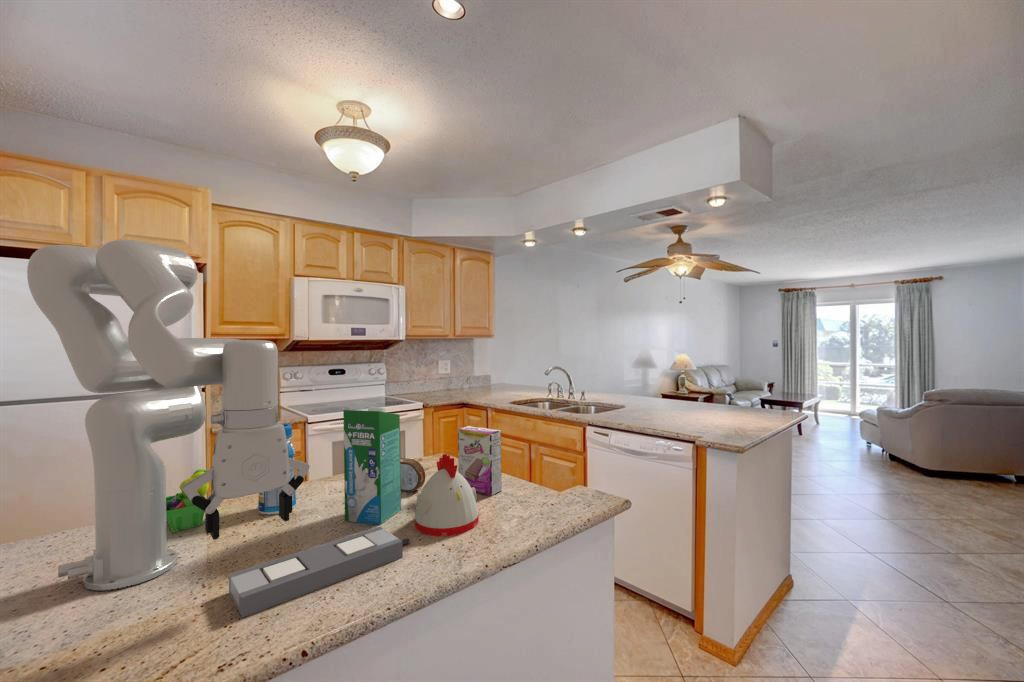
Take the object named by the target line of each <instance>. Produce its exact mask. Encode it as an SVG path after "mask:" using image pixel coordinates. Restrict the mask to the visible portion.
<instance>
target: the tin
mask: <svg viewBox="0 0 1024 682" xmlns="http://www.w3.org/2000/svg"><path fill="white" fill-rule="evenodd" d="M400 478H401V492H408V493H413V492H415V491H417V490H418V489H421V488H422V487H424V485H425V482H426V470H425V469H424V467H423V465H422V464H421V463H420V462H419V461H418V460H416V459H412V458H405V457H400Z"/></svg>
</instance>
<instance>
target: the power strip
mask: <svg viewBox="0 0 1024 682" xmlns="http://www.w3.org/2000/svg"><path fill="white" fill-rule="evenodd" d="M362 536H363V537H365V538H366V539H367V540H369V541H370V542H371V543H373V544H374V545H375V547H373V548H370V549H367V550H364V551H361V552H358V553H355V554H352V555H349V556H347V557H346V556H344V555H343V554H342V553H341V552H340V551H339V550H338V549H337V547H336V545H337V544H340V543H343V542H346V541H349V540H352V539H355V538H359V537H362ZM410 541H411V539H410V538H409V537H405V538H403V539H400V538H398V537H397V536H395V535H394V534H392V532H389V531H388V530H386V529H384V527H382V526H378V527H375V528H371V529H368V530H364V531H362V532H359V533H355V534H352V535H349V536H345V537H343V538H340V539H336V540H333V541H330V542H326V543H323V544H320V545H317V546H314V547H310V548H307V549H304V550H302V551H297V552H295V553H292V554H288V555H285V556H282V557H280V558H276V559H272V560H270V561H267V562H263V563H260V564H257V565H254V566H250V567H247V568H244V569H241V570H238V571H233V572H232V573H229V574H228V594H229V595H230V598H231V600H232V601H233V604H234V605H235V608H236V607H237V608H236V609H238V610H237V612H238V611H239V612H238V613H240V614H239V616H240V615H241V616H240V618H241V617H244V618H246V617H245V616H247V617H249V616H251V615H254V613H255V614H258V613H259V612H263V611H264V610H267V609H271V608H273V607H275V606H278V605H280V604H283V603H284V604H285V603H286V602H288V601H292V600H293V599H296V598H299V597H302V596H304V595H307V594H309V593H312V592H315V591H317V590H321V589H323V588H325V587H328V586H331V585H333V584H336V583H339V582H342V581H344V580H347V579H349V578H352V577H354V576H357V575H359V574H362V573H365V572H368V571H371V570H374V569H376V568H378V567H381V566H383V565H386V564H389V563H391V562H394V561H397V560H399V559H402V558H403V556H404V555H403V546H404V545H407V544H409V543H410ZM293 558H296V559H297V560H298V561H299V562H300V563H301V564H302V565H303V567H304V568H305V571H303V572H300V573H297V574H294V575H292V576H289V577H286V578H283V579H280V580H277V581H274V582H271V583H269V582H268V581H267V580H266V578H265V577H264V575H263V568H265V567H268V566H272V565H275V564H278V563H281V562H284V561H287V560H290V559H293ZM248 615H249V616H248Z"/></svg>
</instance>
